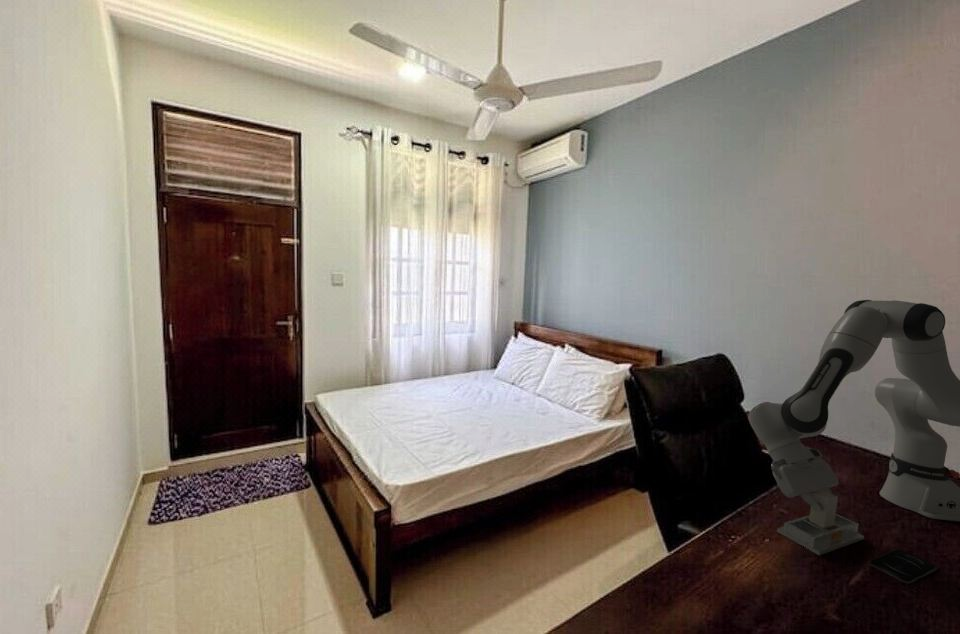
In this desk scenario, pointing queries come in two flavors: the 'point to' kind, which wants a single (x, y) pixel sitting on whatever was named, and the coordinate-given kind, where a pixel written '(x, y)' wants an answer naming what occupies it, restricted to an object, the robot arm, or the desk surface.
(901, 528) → the desk surface
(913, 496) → the robot arm
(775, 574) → the desk surface
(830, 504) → the block
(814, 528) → the rack
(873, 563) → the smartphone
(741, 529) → the desk surface
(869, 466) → the desk surface
